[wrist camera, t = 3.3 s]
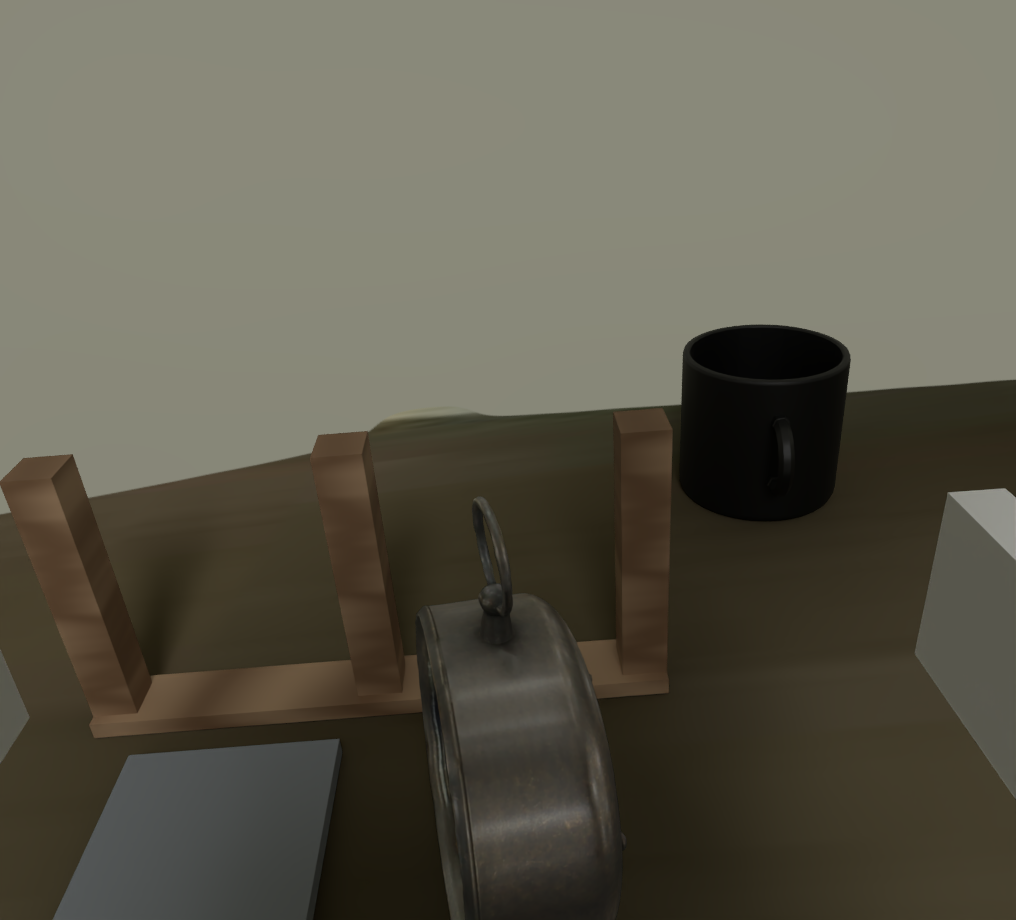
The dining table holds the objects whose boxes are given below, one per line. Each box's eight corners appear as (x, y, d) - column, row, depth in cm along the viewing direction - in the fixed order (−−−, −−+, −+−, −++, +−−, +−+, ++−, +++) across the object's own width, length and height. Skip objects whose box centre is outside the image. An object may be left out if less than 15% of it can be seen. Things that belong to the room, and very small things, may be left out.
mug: (695, 550, 48) (700, 405, 44) (671, 452, 59) (674, 327, 54) (867, 546, 47) (889, 397, 43) (811, 447, 58) (825, 320, 54)
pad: (342, 752, 37) (339, 738, 36) (268, 1173, 23) (262, 1158, 23) (133, 768, 37) (128, 755, 36) (-59, 1199, 23) (-71, 1185, 23)
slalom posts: (656, 648, 41) (659, 403, 35) (668, 692, 38) (675, 435, 32) (118, 691, 41) (29, 452, 35) (94, 738, 38) (-8, 488, 32)
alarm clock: (429, 794, 34) (371, 434, 27) (559, 765, 35) (538, 409, 28) (478, 1090, 25) (408, 662, 17) (653, 1041, 26) (661, 612, 18)
